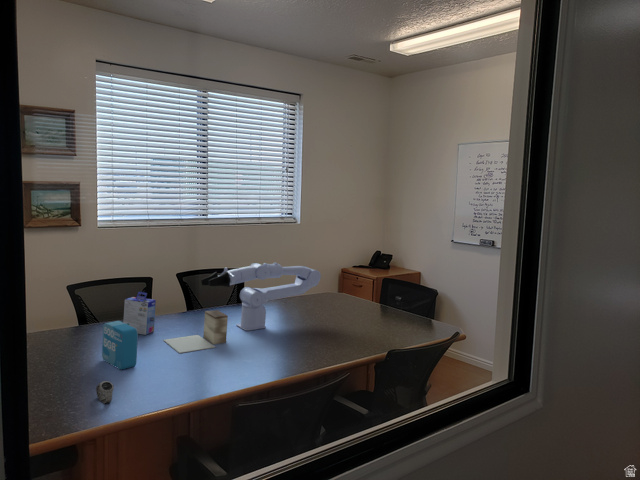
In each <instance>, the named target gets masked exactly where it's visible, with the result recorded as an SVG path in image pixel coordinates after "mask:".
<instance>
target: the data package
mask: <svg viewBox="0 0 640 480" xmlns="http://www.w3.org/2000/svg"><path fill="white" fill-rule="evenodd" d="M138 336H139V334H138V332H137V330H136V328H134V327H131V326H129V325H127V324H125V323H123V322H122V321H121V320H115V321H110V322H106V323H104V324H103V326H102V345H101V347H102V351H101V357H102V360H103V361H104V360H105V361H107V362H108V364H109V363H110V364H109V365H111V364H112V365H114V366H116V367H118V368H119V369H118V368H117V369H118V370H120V369H121V370H120V371H122V369H123V370H127V369H130V368H134V367H136V365H137V360H138V359H137V357H138V356H137V354H138V339H139V337H138ZM105 361H104V362H105ZM107 362H106V363H107ZM112 365H111V366H112ZM114 366H113V367H114ZM116 367H115V368H116ZM126 368H127V369H126Z"/></svg>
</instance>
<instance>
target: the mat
mask: <svg viewBox="0 0 640 480" xmlns="http://www.w3.org/2000/svg"><path fill="white" fill-rule="evenodd" d="M163 342H164V343H166V344H167V345H168V346H169V347H171V348H172V349H173V350H174V351H176V352H177V353H178V354H184V353H185V354H186V353H191V352H195V351H203V350H208V349H213V348H216V346H215V344H214V345H213V344H212V343H210V342H209V341H207V340H206V339H204V338H203V337H202V336H200V335H199V334H195V335H194V334H193V335H187V336H181V337H174V338H168V339H167V338H166V339H163Z"/></svg>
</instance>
